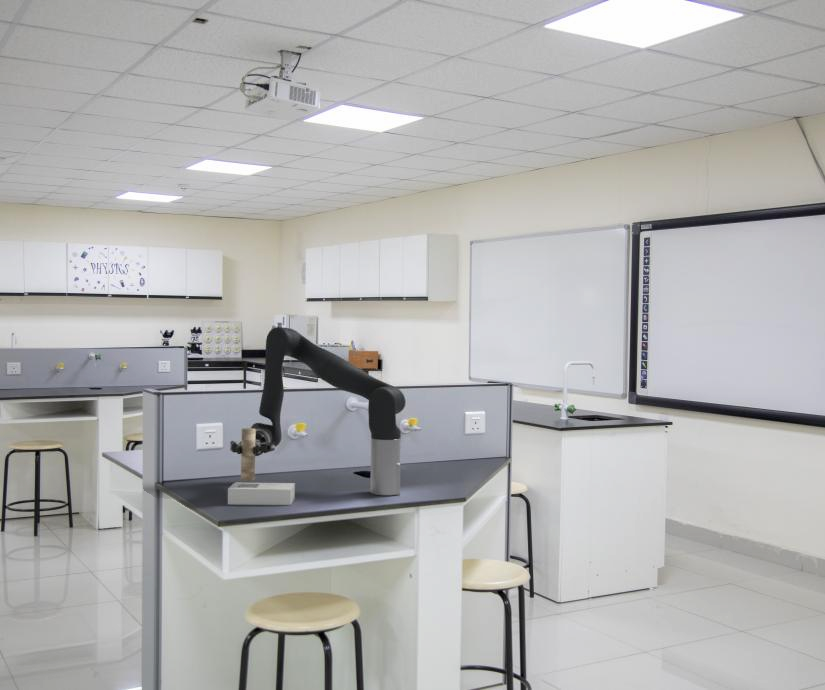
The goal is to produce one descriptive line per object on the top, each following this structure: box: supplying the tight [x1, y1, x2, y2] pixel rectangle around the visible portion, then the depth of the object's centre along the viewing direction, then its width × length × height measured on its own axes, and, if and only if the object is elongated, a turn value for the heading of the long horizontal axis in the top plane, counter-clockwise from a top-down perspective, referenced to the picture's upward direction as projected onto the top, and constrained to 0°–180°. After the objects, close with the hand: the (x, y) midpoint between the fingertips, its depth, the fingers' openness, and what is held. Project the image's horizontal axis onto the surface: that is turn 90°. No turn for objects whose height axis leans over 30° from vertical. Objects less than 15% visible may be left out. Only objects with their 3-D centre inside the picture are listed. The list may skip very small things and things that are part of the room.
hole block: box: [227, 481, 296, 506], centre depth 248 cm, size 18×10×4 cm, turn 91°
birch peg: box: [240, 427, 256, 482], centre depth 248 cm, size 4×4×15 cm
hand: (246, 450), depth 245 cm, fingers closed on birch peg, 4 cm apart
